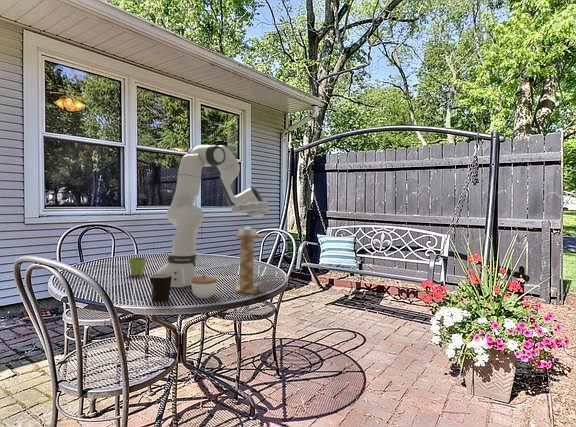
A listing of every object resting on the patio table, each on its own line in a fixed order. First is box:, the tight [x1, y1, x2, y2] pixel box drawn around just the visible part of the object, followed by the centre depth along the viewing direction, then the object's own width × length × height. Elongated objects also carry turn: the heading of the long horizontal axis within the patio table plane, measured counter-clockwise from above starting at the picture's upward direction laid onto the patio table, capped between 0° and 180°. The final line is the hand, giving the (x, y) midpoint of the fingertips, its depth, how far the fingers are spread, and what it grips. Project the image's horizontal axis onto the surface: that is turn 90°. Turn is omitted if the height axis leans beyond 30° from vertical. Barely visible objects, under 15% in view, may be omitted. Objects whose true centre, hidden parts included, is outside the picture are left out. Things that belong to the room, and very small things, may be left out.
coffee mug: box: [149, 273, 172, 303], centre depth 151 cm, size 12×9×10 cm
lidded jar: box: [190, 274, 218, 299], centre depth 156 cm, size 11×11×9 cm
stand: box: [234, 232, 259, 294], centre depth 169 cm, size 10×12×26 cm
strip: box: [237, 226, 257, 235], centre depth 174 cm, size 8×20×2 cm, turn 6°
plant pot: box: [127, 257, 148, 276], centre depth 197 cm, size 9×9×9 cm
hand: (246, 205), depth 191 cm, fingers open, 8 cm apart
